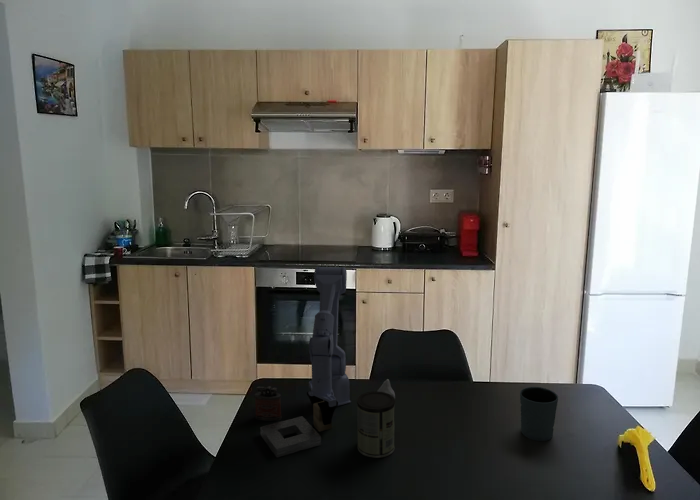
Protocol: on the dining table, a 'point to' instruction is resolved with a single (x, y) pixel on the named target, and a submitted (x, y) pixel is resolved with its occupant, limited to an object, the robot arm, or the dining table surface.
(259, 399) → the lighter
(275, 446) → the square hole board
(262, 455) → the dining table surface
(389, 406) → the coffee can
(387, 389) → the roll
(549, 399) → the dark grey cup
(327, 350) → the robot arm
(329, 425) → the peg
